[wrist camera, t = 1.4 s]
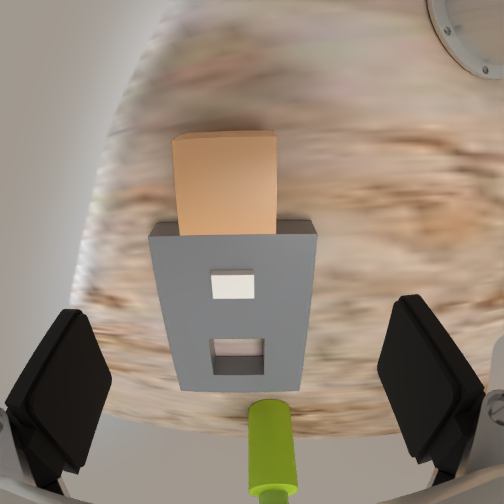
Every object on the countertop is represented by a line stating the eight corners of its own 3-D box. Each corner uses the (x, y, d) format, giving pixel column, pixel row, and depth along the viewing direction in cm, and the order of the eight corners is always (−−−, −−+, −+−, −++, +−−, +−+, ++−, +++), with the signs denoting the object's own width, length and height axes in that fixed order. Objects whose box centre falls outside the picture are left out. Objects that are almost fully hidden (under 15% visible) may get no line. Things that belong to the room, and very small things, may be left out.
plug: (190, 129, 25) (171, 140, 19) (270, 127, 25) (277, 136, 19) (195, 203, 28) (179, 235, 22) (270, 202, 28) (276, 234, 22)
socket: (157, 223, 29) (145, 240, 25) (311, 220, 29) (319, 238, 25) (184, 372, 38) (180, 395, 34) (296, 372, 38) (300, 395, 34)
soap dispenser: (300, 399, 41) (317, 533, 23) (279, 423, 43) (287, 544, 26) (260, 391, 40) (265, 534, 22) (242, 417, 42) (241, 543, 25)
